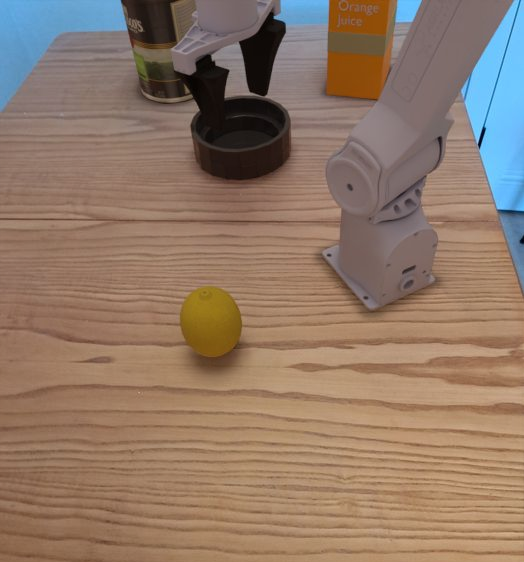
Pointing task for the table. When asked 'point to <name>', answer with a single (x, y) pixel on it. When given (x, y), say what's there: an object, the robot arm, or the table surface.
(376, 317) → the table surface
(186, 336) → the lemon
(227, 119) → the bowl
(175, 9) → the coffee can
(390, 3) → the orange juice
